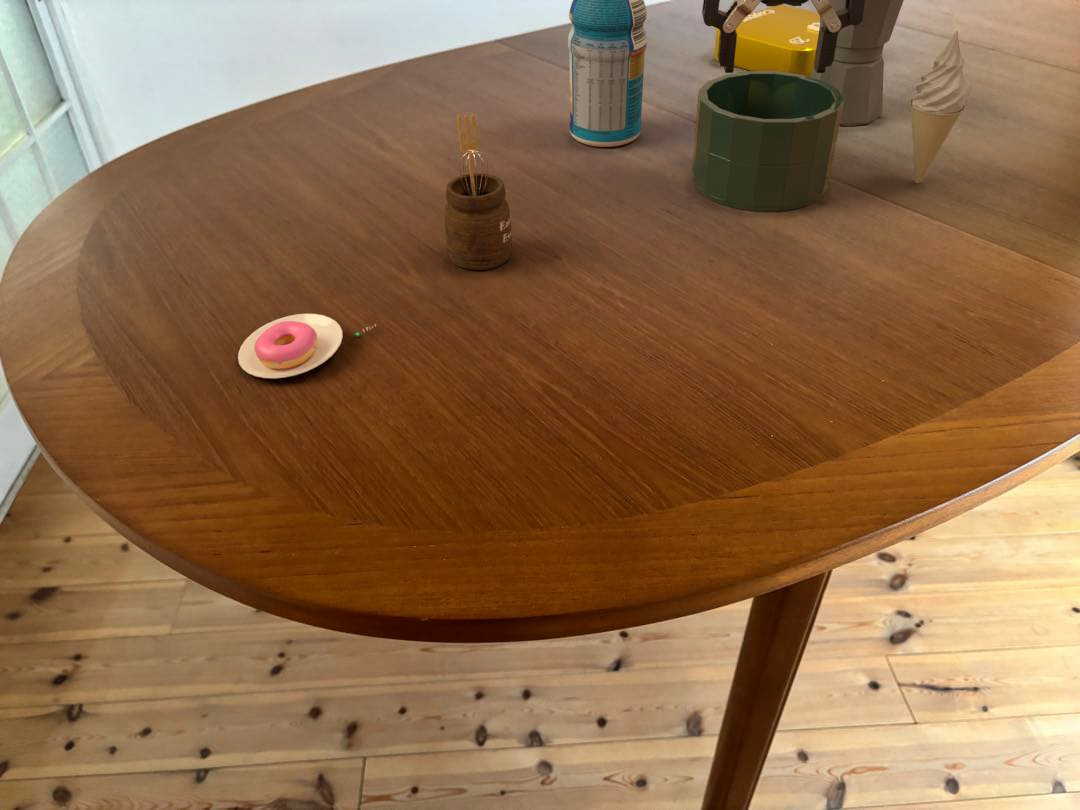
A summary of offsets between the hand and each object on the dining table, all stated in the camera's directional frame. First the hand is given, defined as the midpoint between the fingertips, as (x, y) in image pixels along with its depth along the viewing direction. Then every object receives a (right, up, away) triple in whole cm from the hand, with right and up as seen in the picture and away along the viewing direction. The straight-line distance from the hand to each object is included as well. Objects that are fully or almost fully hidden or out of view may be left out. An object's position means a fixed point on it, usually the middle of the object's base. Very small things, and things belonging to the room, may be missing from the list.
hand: (773, 70), depth 87 cm
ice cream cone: (+16, -9, +6) cm, 20 cm away
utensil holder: (-28, -18, -3) cm, 34 cm away
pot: (0, -9, +7) cm, 11 cm away
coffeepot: (+14, +3, +22) cm, 26 cm away
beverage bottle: (-15, -1, +18) cm, 23 cm away
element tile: (+11, +15, +36) cm, 41 cm away
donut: (-41, -27, -14) cm, 51 cm away
